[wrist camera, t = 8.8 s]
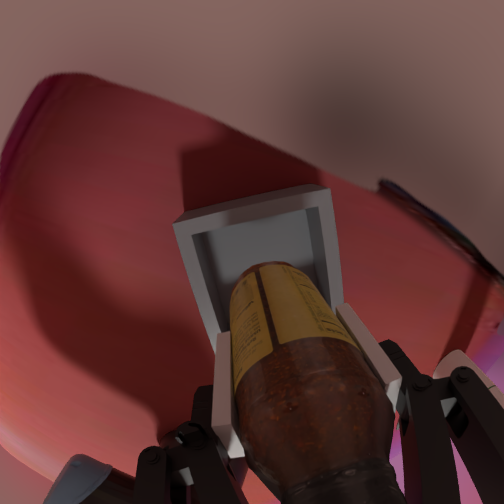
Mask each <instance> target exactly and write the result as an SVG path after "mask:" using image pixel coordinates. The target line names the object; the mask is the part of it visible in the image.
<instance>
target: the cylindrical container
mask: <svg viewBox="0 0 504 504" xmlns="http://www.w3.org/2000/svg"><path fill="white" fill-rule="evenodd" d="M460 366H467V367H469V368H471V369H472V370H474V372H475V373H476V374H477V375H478V376H479V378H480V379H481V380H482V381H483V383H484V384H485V385H486V386H487V388H488V389H489V390H490V392H491V393H492V394H493V396H494V397H495V398H496V399H497V401H498V402H499V403H500V405H501V406H502V408H503V409H504V394H503V393H502V392H501V391H500V390H499V388H498V387H497V386H496V385H495V384H494V383H493V382H492V381H491V380H490V379H489V378H488V377H487V376H486V375H485V374H484V373H483V372H482V371H481V370H480V369H479V368H478V366H477V365H476V364H475V363H474V362H473V361H472V360H471V359H470V358H469V357H468V356H467V355H466V354H465V353H463V352H462V351H461V350H459V349H457V350H454V351H452V352H450V353H449V354H448V355H446V356H445V357H444V358H443V359H442V360H441V361H440V363H439V364H438V366H437V367H436V369H435V371H434V374H433V379H439V378H444V377H449V376H450V374H451V372H452V371H453V370H454V369H455V368H456V367H460Z"/></svg>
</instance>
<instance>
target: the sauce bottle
mask: <svg viewBox="0 0 504 504" xmlns="http://www.w3.org/2000/svg"><path fill="white" fill-rule="evenodd" d="M230 330H231V338H232V362H233V385H234V400H235V404H236V407H237V409H238V413H239V430H240V441H241V444H242V446H243V449H244V454H245V460H246V463H247V465H248V467H249V468H250V469H251V470H252V471H253V472H254V473H255V474H256V475H257V476H258V477H259V479H260V480H261V481H262V482H263V483H264V484H265V486H266V487H267V488H268V489H269V490H270V491H271V492H272V493H273V495H274V496H275V497H276V498H277V499H278V500H279V501H280V502H281V504H408V503H407V501H406V499H405V497H404V494H403V493H402V492H401V490H400V488H399V486H398V483H397V481H396V473H395V470H394V467H393V466H392V465H391V464H390V462H389V454H390V449H391V443H392V437H393V429H394V420H395V413H394V409H393V404H392V402H391V401H390V399H389V398H388V396H387V394H386V393H385V391H384V389H383V388H382V386H381V384H380V383H379V381H378V378H377V377H375V376H374V374H373V372H372V371H371V370H370V368H369V366H368V365H367V363H366V359H365V357H364V355H363V354H362V352H361V351H360V349H359V348H358V346H357V345H356V343H355V342H354V340H353V339H352V338H351V336H350V335H349V334H348V332H347V331H346V329H345V328H344V327H343V325H342V324H341V322H340V321H339V319H338V318H337V317H336V315H335V314H334V312H333V311H332V310H331V308H330V307H329V305H328V304H327V303H326V301H325V300H324V298H323V297H322V295H321V294H320V292H319V291H318V290H317V288H316V287H315V285H314V284H313V283H312V281H311V280H310V279H309V277H308V276H307V275H306V274H304V273H303V272H301V271H300V270H298V269H297V268H295V267H293V266H292V265H291V264H289V263H287V262H283V261H270V262H263V263H260V264H256V265H252V266H251V267H250V268H248V269H247V270H245V271H244V272H243V273H242V274H241V275H240V277H239V279H238V280H237V282H236V283H235V285H234V287H233V289H232V293H231V300H230Z"/></svg>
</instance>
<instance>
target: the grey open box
mask: <svg viewBox="0 0 504 504" xmlns="http://www.w3.org/2000/svg"><path fill="white" fill-rule="evenodd" d="M172 225H173V228H174V232H175V235H176V239H177V242H178V245H179V249H180V252H181V255H182V259H183V262H184V265H185V268H186V272H187V275H188V278H189V281H190V284H191V287H192V290H193V293H194V296H195V299H196V302H197V305H198V308H199V311H200V314H201V317H202V320H203V322H204V325H205V328H206V331H207V334H208V336H209V339H210V342H211V345H212V347H213V350H214V353H215V355H216V340H217V334H218V333H223V332H228V331H230V332H231V330H230V300H231V293H232V289H233V287H234V285H235V283H236V282H237V280H238V279H239V277H240V275H241V274H242V273H243V272H244V271H245V270H247V269H248V268H250V267H251V266H252V265H256V264H260V263H263V262H270V261H283V262H287V263H289V264H291V265H292V266H293V267H295V268H297V269H298V270H300V271H301V272H303V273H304V274H306V275H307V276H308V277H309V279H310V280H311V281H312V283H313V284H314V285H315V287H316V288H317V290H318V291H319V292H320V294H321V295H322V297H323V298H324V300H325V301H326V303H327V304H328V305H329V307H330V308H331V310H332V311H333V312H334V314H335V315H336V309H335V306H337V305H341V304H344V298H343V286H342V275H341V265H340V256H339V248H338V239H337V232H336V224H335V217H334V210H333V204H332V198H331V191H330V188H327V187H323V186H319V185H315V184H306V185H301V186H295V187H290V188H286V189H281V190H276V191H271V192H266V193H262V194H257V195H253V196H248V197H244V198H240V199H235V200H231V201H227V202H222V203H218V204H214V205H210V206H206V207H202V208H198V209H194V210H190V211H186V212H184V213H183V214H182V215H181V216H180V217H179V218H178V219H177V220H176V221H175V222H174V223H173V224H172Z"/></svg>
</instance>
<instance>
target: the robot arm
mask: <svg viewBox="0 0 504 504" xmlns="http://www.w3.org/2000/svg"><path fill="white" fill-rule="evenodd" d="M335 309H336V317H337V318H338V319H339V321H340V322H341V324H342V325H343V327H344V328H345V329H346V331H347V332H348V334H349V335H350V336H351V338H352V339H353V340H354V342H355V343H356V345H357V346H358V348H359V349H360V351H361V352H362V354H363V355H364V357H365V359H366V363H367V365H368V366H369V368H370V370H371V371H372V372H373V374H374V376H375V377H377V378H378V381H379V383H380V384H381V386H382V388H383V389H384V391H385V393H386V394H387V396H388V398H389V399H390V401H391V402H392V404H393V409H394V413H395V411H396V410H397V411H398V413H399V415H400V416H399V420H398V423H397V428H396V430H399V428H400V436H401V446H402V456H403V470H404V488H405V499H406V501H407V503H408V504H461V502H460V493H459V485H458V478H457V471H456V465H455V460H454V455H453V449H452V445H451V440H452V441H453V443H454V445H455V447H456V449H457V451H458V453H459V454H460V456H461V458H462V460H463V462H464V464H465V466H466V468H467V470H468V472H469V474H470V476H471V479H472V481H473V483H474V485H475V487H476V489H477V491H478V493H479V496H480V498H481V500H482V502H483V504H504V409H503V408H502V406H501V405H500V403H499V402H498V401H497V399H496V398H495V397H494V396H493V394H492V393H491V392H490V390H489V389H488V388H487V386H486V385H485V384H484V383H483V381H482V380H481V379H480V378H479V376H478V375H477V374H476V373H475V372H474V370H472V369H471V368H469V367H467V366H460V367H456V368H455V369H454V370H453V371H452V372H451V374H450V376H449V377H444V378H439V379H433V378H431V377H430V376H428V375H425V374H421V373H420V372H419V371H418V369H417V368H416V367H415V366H414V364H413V363H412V362H411V361H410V359H409V358H408V357H407V356H406V354H405V353H404V352H403V351H402V349H401V348H400V347H399V346H398V344H397V343H395V342H393V341H391V340H389V339H388V340H385V341H383V342H380V343H377V341H376V340H375V339H374V337H373V336H372V334H371V333H370V332H369V330H368V329H367V328H366V326H365V325H364V324H363V322H362V321H361V320H360V318H359V317H358V316H357V314H356V313H355V312H354V311H353V309H352V308H351V307H350V305H349V304H348V303H345V304H341V305H337V306H335ZM193 403H194V404H193V408H192V409H193V410H192V417H191V421H187V422H185V423H183V424H181V425H180V426H179V427H178V428H177V430H175V431H172V432H170V433H168V434H166V435H165V436H164V437H163V438H162V439H161V442H160V447H159V446H151V447H147V448H146V449H144V450H143V451H142V452H141V453H140V455H139V458H138V464H137V471H136V477H133V476H131V475H129V474H126V473H124V472H122V471H120V470H117V469H115V468H113V467H112V466H111V465H109V464H104V463H102V462H100V461H98V460H95V459H93V458H91V457H89V456H87V455H84V454H77V455H74V456H72V457H71V458H70V460H69V461H68V462H67V464H66V465H65V466H64V468H63V469H62V471H61V472H60V474H59V476H58V477H57V479H56V480H55V482H54V484H53V485H52V487H51V489H50V491H49V493H48V495H47V497H46V498H45V500H44V502H43V504H249V503H248V501H247V499H246V497H245V495H244V493H243V491H242V489H241V488H242V485H243V482H244V479H245V477H246V474H247V471H248V468H249V467H248V465H247V463H246V460H245V454H244V449H243V446H242V444H241V441H240V430H239V413H238V409H237V407H236V404H235V400H234V385H233V362H232V338H231V332H230V331H228V332H223V333H218V334H217V340H216V355H215V370H214V385H207V386H200V387H199V388H198V389H197V391H196V392H195V394H194V400H193ZM450 438H451V440H450Z"/></svg>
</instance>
